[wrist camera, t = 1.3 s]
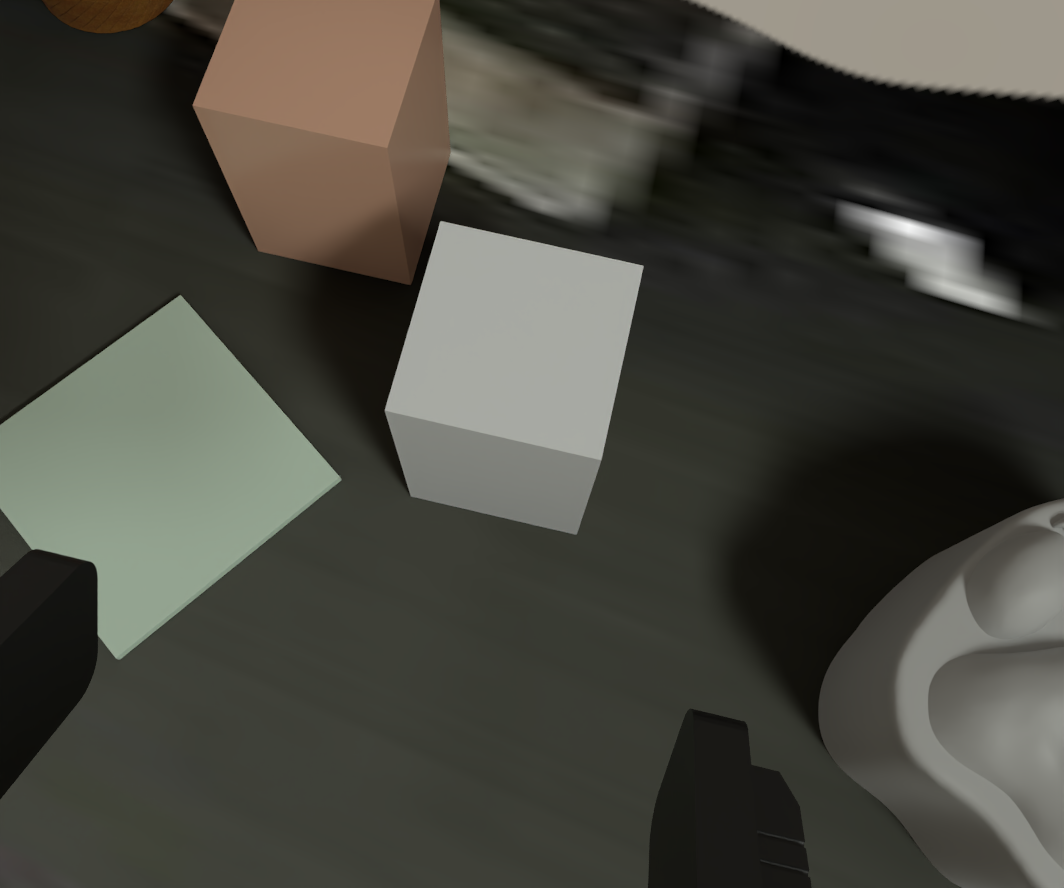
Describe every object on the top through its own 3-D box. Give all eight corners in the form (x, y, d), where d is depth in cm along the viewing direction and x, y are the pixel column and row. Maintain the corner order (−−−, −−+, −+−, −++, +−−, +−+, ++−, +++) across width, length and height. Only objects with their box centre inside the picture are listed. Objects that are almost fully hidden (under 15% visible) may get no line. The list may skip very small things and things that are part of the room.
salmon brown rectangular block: (450, 153, 43) (438, -11, 34) (411, 285, 41) (387, 148, 32) (304, 121, 43) (254, -50, 34) (258, 251, 41) (192, 105, 32)
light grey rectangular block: (610, 380, 40) (643, 266, 31) (576, 534, 38) (601, 460, 29) (453, 344, 40) (440, 221, 31) (410, 496, 38) (384, 410, 29)
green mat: (341, 480, 38) (339, 477, 38) (119, 659, 36) (115, 658, 36) (183, 299, 40) (180, 294, 40) (-36, 457, 38) (-42, 454, 38)
